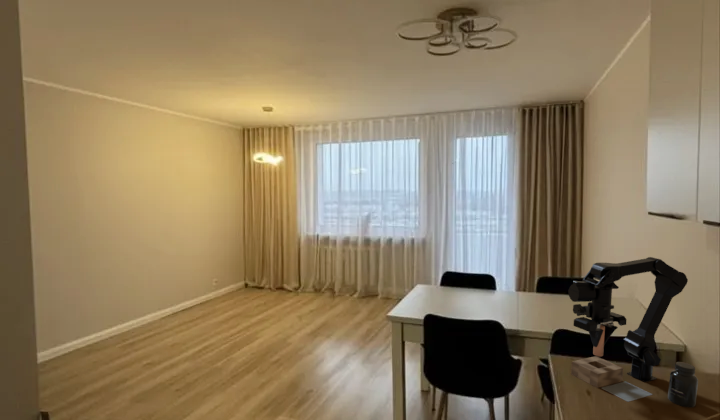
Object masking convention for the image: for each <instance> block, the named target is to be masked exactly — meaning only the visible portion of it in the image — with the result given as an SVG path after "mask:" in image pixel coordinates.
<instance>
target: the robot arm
mask: <svg viewBox="0 0 720 420" xmlns="http://www.w3.org/2000/svg"><path fill="white" fill-rule="evenodd" d="M649 272H650V273H651V274H652V275H653V276H654V278H655V280H654V287H655V292H654V294H653V296H652V298H651V300H650V303H649V304H648V307H647V309H646V311H645V312H644V314H643V317H642V319H641V320H640V323H639V325H638V327H637V328H635V329H634V330H631V329H629V330H628V331H627V333H626V336H625V338H623V341H624V342H623V347H624V349H625V350H626V352H627V355H628V356H630V357H631V358H632V360H631V366H630V367H631V368H630V369H631V371H629V372H627V373H626V375H628V376H631V377H632V378H635V379H637V380H639V381H641V382H644V383H648V382H651V381H652V382H653V381H654V380H657V377H656V376H653V368H654V367H656V366H659V365H660V362H661V360H662V359H661V358H660V356H658V355H657V354H656V353H655V348H656V339H655V335H656V333H657V331H658V328H659V327H660V324H661V322H662V320H663V318H664V316H665V314H666V312H667V310H668V307H669V305H670V303H671V302H672V300H673V298H674V297H676V296H678V295H679V294H681V293H682V292H683V290H684V289H685V287H686V286H687V284H688V278H687V275H686V274H685V273H684V272H682V271H679V270H678V269H675V268H674V267H672V266H671V265H669V264H668V263H666V262H665V261H663V260H662V259H660V258H656V257H653V256H648V257H646V258H643V259H635V260H631V261H629V260H628V261H624V262H618V263H613V262H596V263H595V262H594V263H593V264H592V266H591V267H590V270H589V271H588V272H587V273H586V275H585V276H584V277H583V279H582V281H578V280H573V281H572V284H571V285H570V286H569V288H568V290H567V291H568V297H569V299H570V300H571V301H572V302H573V303H575V302H577V304H573V305H572V312H573V314H574V315H575V314H576V316H577V317H576V318H575V319H573V325H572V326H573V327H576V328H578V329H580V330H582V331H585V332H588V334H589V336H590V340H591V343H592V345H593V346H594V347H597V346H598V344H599V341H600V338H601V335H602V333H603V330H602V329H600V325H603V326H605V335H604V346H605V344H606V343H607V342H608V340H609V339H610V337H611V336H612V335H613V333H615V331H616V330H617V329H618V326H616V325H615V324H614V322H616V323H617V324H618V325H619V326H626V325H627V318H626V316H625V315H622V314H620V313H616V312H611V311H612V310H613V309H615V305H613V304H612V299H613V298H612V297H613V295H612V294H613V289H614V290H617V289H619V286H618V285H617V284H616V283H615V282H617V281H620V280H621V278H624V277H626V276H633V275H639V274H645V273H649ZM578 302H581V303H582V302H583V303H585V302H588V303H587V305H582V304H581V303H578ZM580 316H582V317H580ZM584 316H585V317H584Z"/></svg>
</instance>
